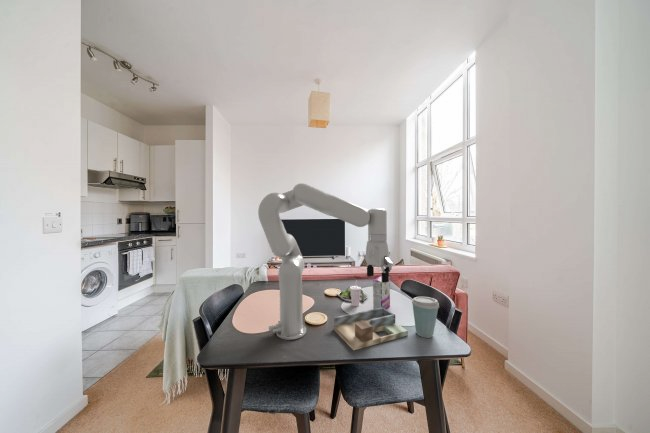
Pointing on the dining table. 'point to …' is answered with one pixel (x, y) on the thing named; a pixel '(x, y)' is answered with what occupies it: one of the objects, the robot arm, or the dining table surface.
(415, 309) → the disposable coffee cup
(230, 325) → the dining table surface
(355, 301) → the smoothie
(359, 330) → the walnut block
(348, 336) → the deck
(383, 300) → the candy bar box
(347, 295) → the salad plate
